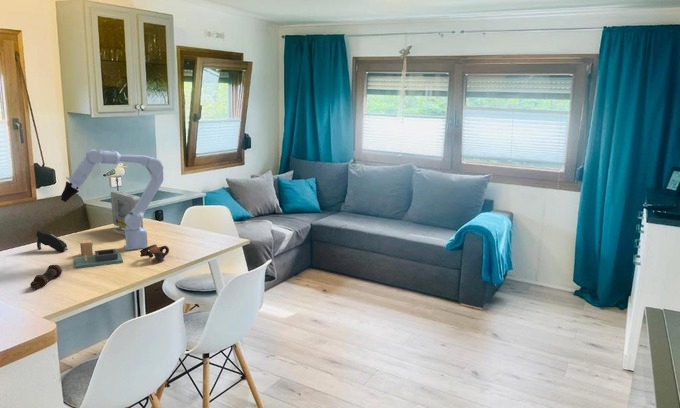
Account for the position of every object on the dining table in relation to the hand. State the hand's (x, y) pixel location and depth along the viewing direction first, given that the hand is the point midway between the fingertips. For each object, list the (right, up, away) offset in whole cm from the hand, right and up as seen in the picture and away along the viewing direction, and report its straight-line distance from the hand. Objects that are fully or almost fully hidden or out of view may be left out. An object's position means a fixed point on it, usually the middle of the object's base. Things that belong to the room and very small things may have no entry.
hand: (63, 199), depth 221 cm
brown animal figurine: (+40, -27, +1) cm, 48 cm away
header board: (+16, -27, -1) cm, 31 cm away
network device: (+9, -17, +46) cm, 50 cm away
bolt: (+8, -33, -27) cm, 43 cm away
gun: (-11, -24, +12) cm, 29 cm away
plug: (+7, -25, +7) cm, 27 cm away
